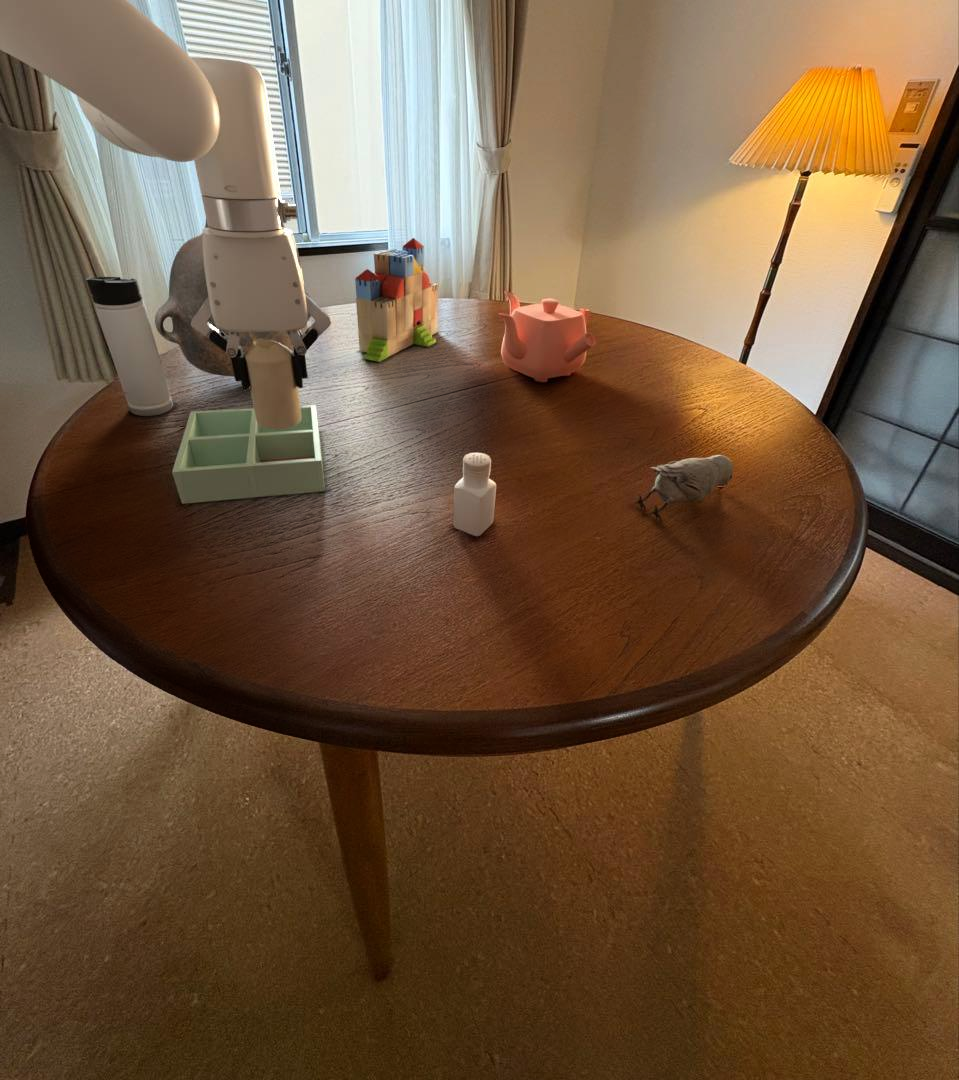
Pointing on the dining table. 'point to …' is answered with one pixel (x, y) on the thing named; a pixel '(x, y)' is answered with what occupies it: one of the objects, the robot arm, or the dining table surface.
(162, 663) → the dining table surface
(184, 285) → the jug
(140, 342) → the travel mug
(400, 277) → the block set
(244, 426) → the grid
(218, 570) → the dining table surface
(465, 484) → the salt shaker
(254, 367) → the candle
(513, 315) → the teapot
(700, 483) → the decorative bird
